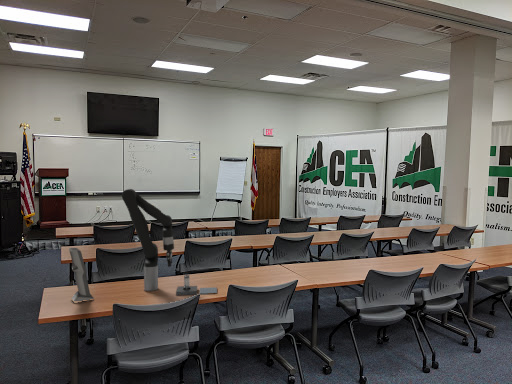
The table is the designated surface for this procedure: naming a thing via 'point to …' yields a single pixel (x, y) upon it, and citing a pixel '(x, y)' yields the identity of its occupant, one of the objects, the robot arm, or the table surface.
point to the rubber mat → (208, 290)
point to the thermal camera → (80, 276)
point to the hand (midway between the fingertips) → (170, 265)
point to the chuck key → (186, 282)
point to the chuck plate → (181, 290)
